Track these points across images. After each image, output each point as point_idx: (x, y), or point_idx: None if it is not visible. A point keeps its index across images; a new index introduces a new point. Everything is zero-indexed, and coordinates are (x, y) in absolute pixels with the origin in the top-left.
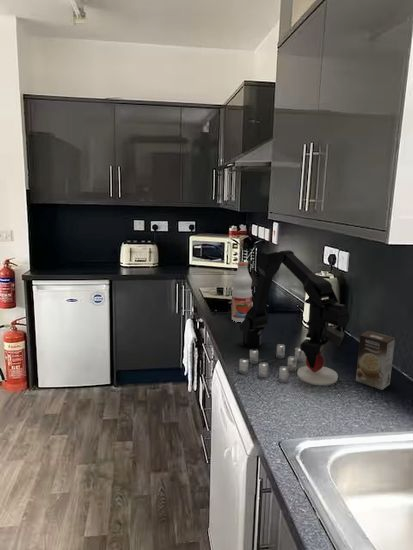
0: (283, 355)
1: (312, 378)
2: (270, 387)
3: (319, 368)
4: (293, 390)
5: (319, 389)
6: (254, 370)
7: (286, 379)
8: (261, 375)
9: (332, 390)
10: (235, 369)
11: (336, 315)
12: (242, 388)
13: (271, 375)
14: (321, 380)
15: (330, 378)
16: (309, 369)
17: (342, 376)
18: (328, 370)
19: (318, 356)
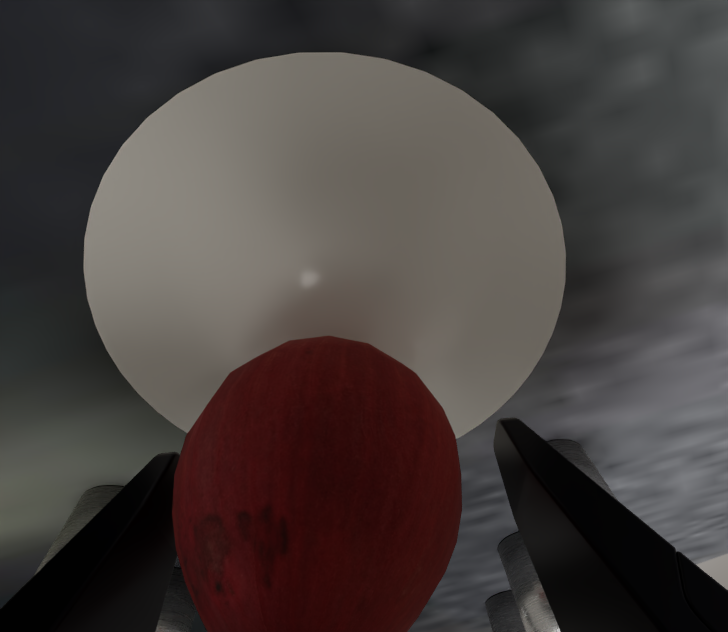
0: (169, 592)
1: (499, 328)
2: (670, 479)
3: (384, 353)
4: (699, 370)
5: (642, 193)
6: (460, 586)
7: (592, 466)
8: None
9: (641, 30)
10: (488, 623)
11: None
12: (703, 549)
13: (488, 526)
14: (513, 233)
15: (403, 145)
16: None
17: (91, 14)
18: (158, 248)
19: (392, 560)
